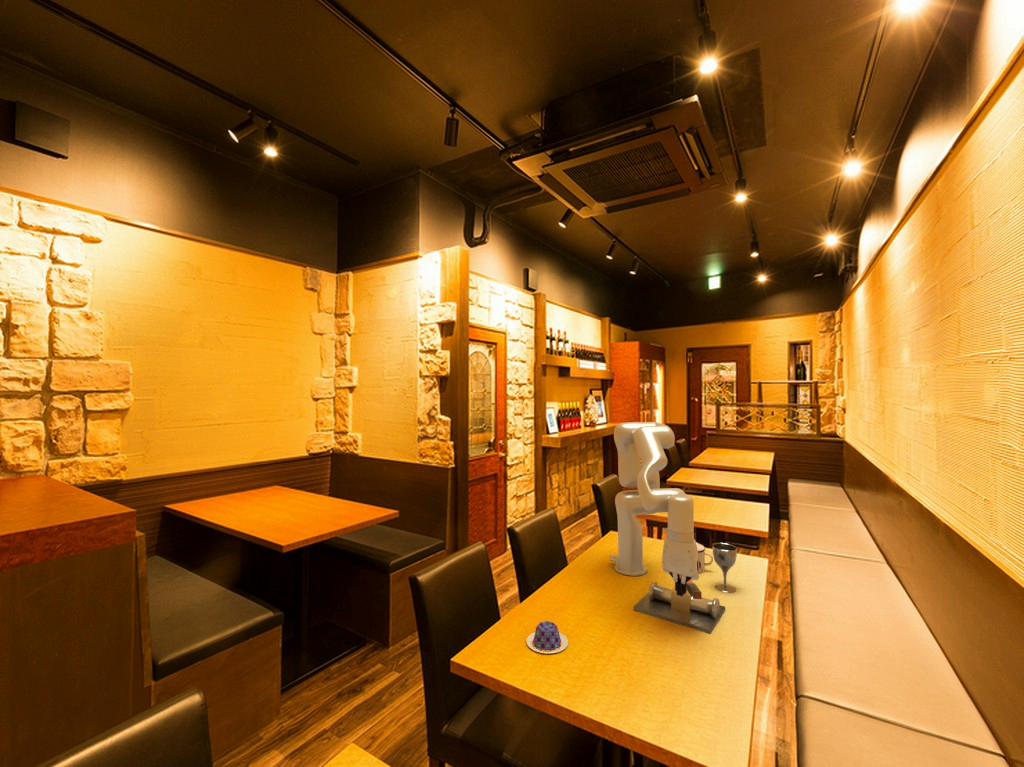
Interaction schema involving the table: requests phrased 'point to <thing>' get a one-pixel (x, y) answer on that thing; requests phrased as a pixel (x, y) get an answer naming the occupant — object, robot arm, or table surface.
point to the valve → (681, 608)
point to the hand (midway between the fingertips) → (680, 594)
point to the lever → (693, 589)
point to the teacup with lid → (702, 557)
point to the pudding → (547, 638)
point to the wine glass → (724, 563)
